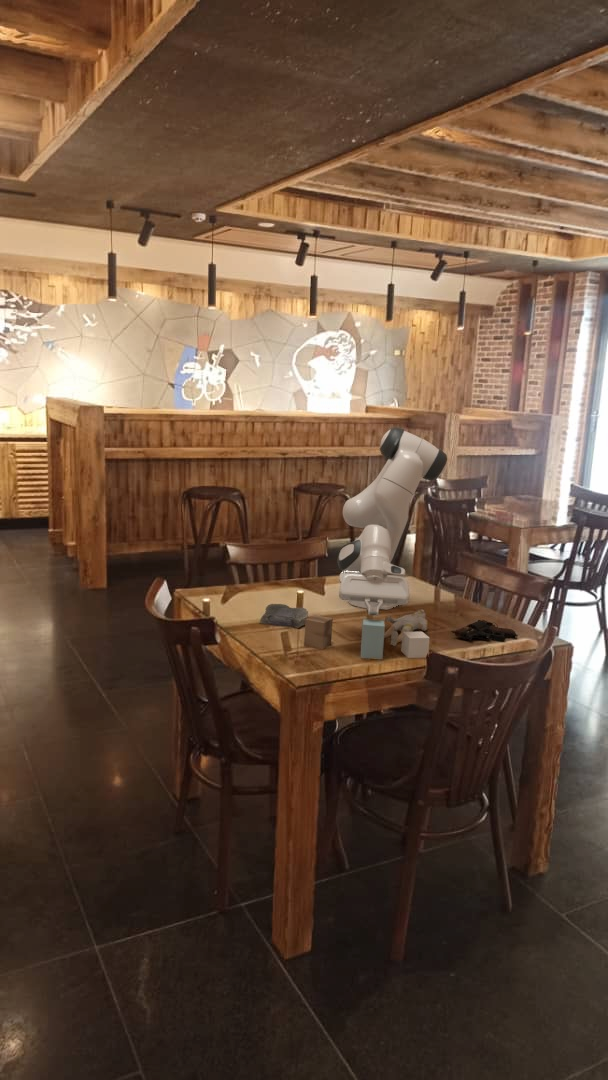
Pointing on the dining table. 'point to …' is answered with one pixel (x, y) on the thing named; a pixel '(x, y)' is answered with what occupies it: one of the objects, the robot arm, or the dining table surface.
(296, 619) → the fossil
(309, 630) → the walnut block
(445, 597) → the dining table surface
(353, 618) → the dining table surface
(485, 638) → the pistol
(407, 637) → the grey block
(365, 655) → the teal block
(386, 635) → the figurine
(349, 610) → the dining table surface
